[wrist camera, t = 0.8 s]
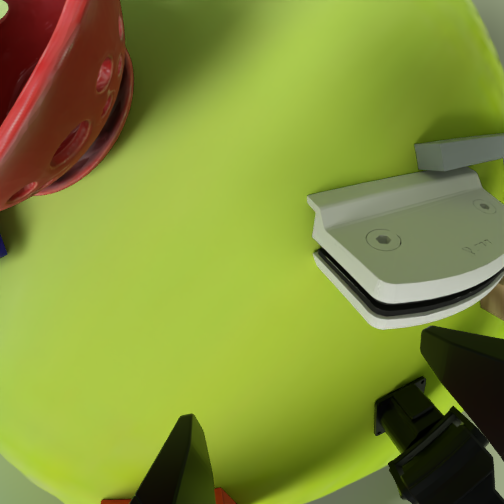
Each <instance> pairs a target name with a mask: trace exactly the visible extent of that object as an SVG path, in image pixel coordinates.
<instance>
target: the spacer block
mask: <svg viewBox="0 0 504 504" xmlns="http://www.w3.org/2000/svg"><path fill="white" fill-rule="evenodd" d="M480 304H481V308H483V309H484V310H486V311H488V312H490V313H491V314H493V315H495V316H496V317H498V318H500V319H501V320H503V321H504V276H503V277H502V278H501V280H500V281H499V282H498V284H497V285H496V286H495V287H494V288H493V289H492V290H491V291H490V292H489V293H488V294H487V295H486V296H485V297H483V298H482V299H481V300H480Z"/></svg>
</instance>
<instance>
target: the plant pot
mask: <svg viewBox="0 0 504 504" xmlns="http://www.w3.org/2000/svg"><path fill="white" fill-rule="evenodd" d="M3 1H5V2H6V3H7V4H8V7H9V8H8V11H7V13H6V14H5V16H4V17H3V18H1V19H0V211H2V210H4V209H7V208H10V207H12V206H14V205H16V204H18V203H20V202H22V201H24V200H26V199H28V198H30V197H32V196H38V195H47V194H51V193H55V192H58V191H61V190H63V189H65V188H67V187H69V186H71V185H73V184H75V183H76V182H78V181H79V180H81V179H82V178H83V177H85V176H86V175H87V174H89V173H90V172H91V171H92V170H93V169H94V168H95V167H96V166H97V165H98V164H99V163H100V162H101V161H102V160H103V159H104V157H105V156H106V155H107V154H108V153H109V151H110V150H111V148H112V147H113V145H114V143H115V142H116V140H117V138H118V137H119V135H120V133H121V131H122V129H123V127H124V124H125V122H126V119H127V117H128V114H129V111H130V107H131V102H132V97H133V87H134V74H133V66H132V61H131V58H130V55H129V53H128V51H127V49H126V47H125V32H124V24H123V16H122V10H121V5H120V0H3Z"/></svg>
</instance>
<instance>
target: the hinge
mask: <svg viewBox="0 0 504 504" xmlns="http://www.w3.org/2000/svg"><path fill="white" fill-rule="evenodd" d="M307 203H308V204H309V205H310V207H311V208H312V209H313V210H314V211H315V212H316V214H315V221H314V228H313V235H312V237H313V238H314V239H315V240H316V241H317V242H318V244H319V245H320V246H321V247H322V248H320V249H318V252H315V253H313V256H314V259H315V262H316V264H317V267H318V268H319V269H320V270H321V271H322V272H323V273H324V274H325V275H326V276H327V277H328V279H329V280H330V281H331V282H332V283H333V284H334V285H335V286H336V287H337V288H338V290H339V291H340V292H341V293H342V294H343V295H344V296H345V297H346V298H347V300H348V301H349V302H350V303H351V304H352V305H353V306H354V307H355V309H356V310H357V311H358V312H359V313H360V314H361V315H362V316H363V318H364V319H365V320H366V321H367V322H368V323H369V324H370V325H371V326H373V327H375V328H378V329H394V328H404V327H410V326H415V325H421V324H425V323H429V322H433V321H437V320H440V319H443V318H446V317H448V316H451V315H454V314H456V313H458V312H460V311H462V310H464V309H466V308H468V307H470V306H472V305H473V304H475V303H476V302H478V301H479V300H481V299H482V298H483V297H485V296H486V295H487V294H488V293H489V292H490V291H491V290H492V289H493V288H494V287H495V286H496V285H497V284H498V282H499V281H500V280H501V278H502V277H503V276H504V205H503V204H502V203H501V202H500V201H498V200H497V199H496V198H495V197H493V196H492V195H491V194H490V193H488V192H487V191H486V190H484V189H483V188H482V186H481V183H480V180H479V177H478V174H477V173H476V172H475V171H474V170H472V169H470V168H469V167H467V166H465V167H461V168H457V169H453V170H448V171H433V170H427V171H422V172H416V173H411V174H406V175H401V176H396V177H391V178H386V179H381V180H376V181H371V182H366V183H361V184H356V185H352V186H347V187H342V188H338V189H333V190H329V191H324V192H320V193H316V194H311V195H307Z"/></svg>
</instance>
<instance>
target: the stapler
mask: <svg viewBox="0 0 504 504" xmlns="http://www.w3.org/2000/svg"><path fill="white" fill-rule="evenodd" d="M5 255H7V251H6V248H5V246H4V243H3V240H2V237H1V234H0V258H2V257H3V256H5Z"/></svg>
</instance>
